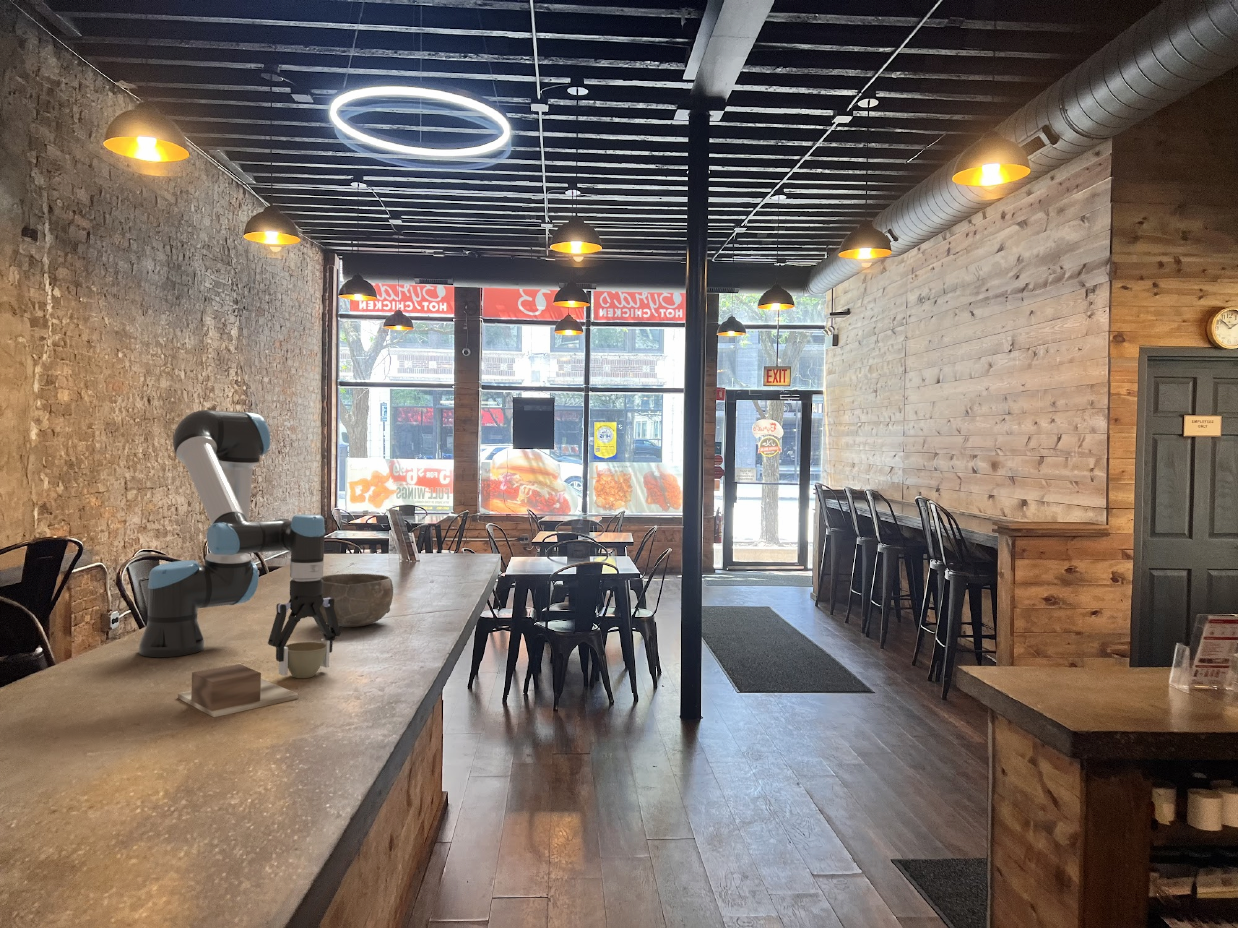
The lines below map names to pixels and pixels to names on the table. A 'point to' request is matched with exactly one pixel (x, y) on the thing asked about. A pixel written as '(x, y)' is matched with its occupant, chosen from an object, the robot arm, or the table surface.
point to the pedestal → (225, 687)
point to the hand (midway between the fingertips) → (304, 670)
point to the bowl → (358, 597)
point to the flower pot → (305, 658)
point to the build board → (267, 697)
